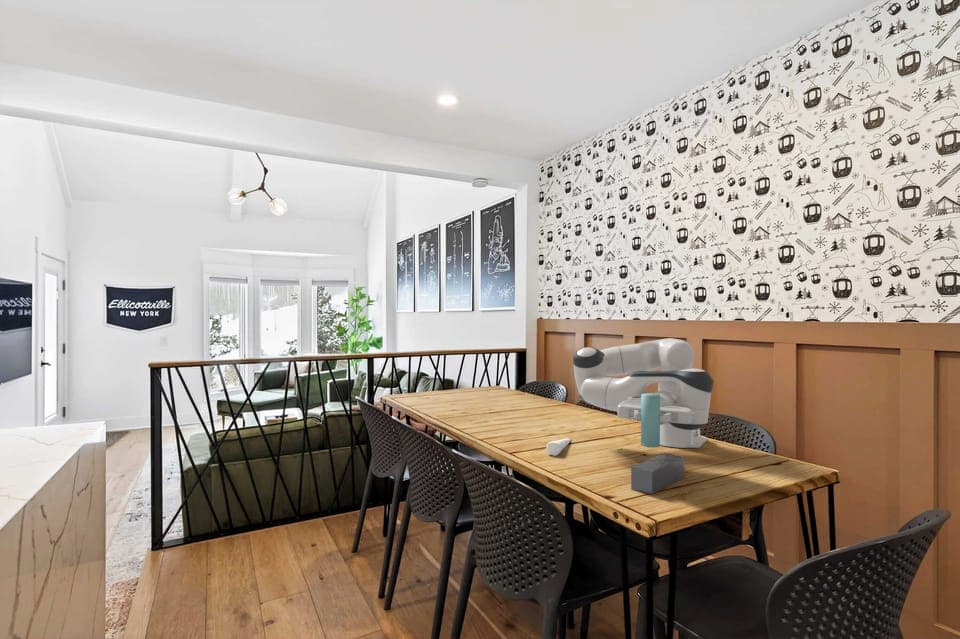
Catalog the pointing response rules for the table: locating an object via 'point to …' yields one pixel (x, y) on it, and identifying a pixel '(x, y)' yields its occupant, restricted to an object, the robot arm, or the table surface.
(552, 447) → the unicorn horn
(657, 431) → the teal post
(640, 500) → the table surface
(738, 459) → the table surface
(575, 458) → the table surface
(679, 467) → the gray block
